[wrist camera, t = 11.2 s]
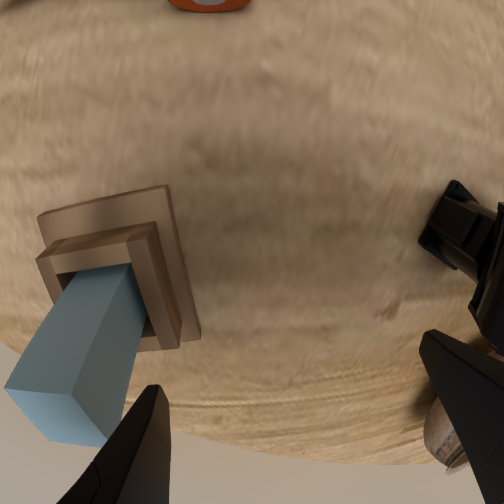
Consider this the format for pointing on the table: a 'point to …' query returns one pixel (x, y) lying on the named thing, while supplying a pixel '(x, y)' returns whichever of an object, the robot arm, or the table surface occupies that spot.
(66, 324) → the pale blue tower
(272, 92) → the table surface
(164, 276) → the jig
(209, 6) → the toy helicopter
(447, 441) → the cooking pot
